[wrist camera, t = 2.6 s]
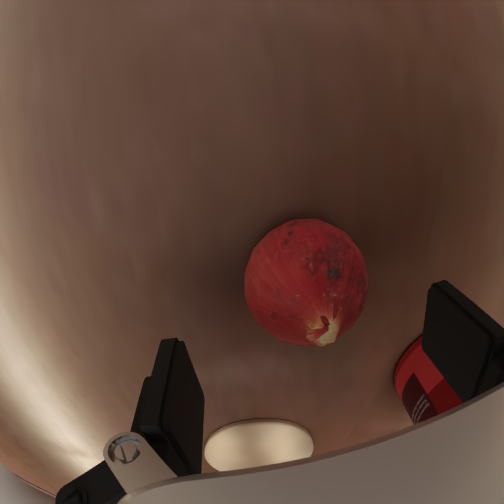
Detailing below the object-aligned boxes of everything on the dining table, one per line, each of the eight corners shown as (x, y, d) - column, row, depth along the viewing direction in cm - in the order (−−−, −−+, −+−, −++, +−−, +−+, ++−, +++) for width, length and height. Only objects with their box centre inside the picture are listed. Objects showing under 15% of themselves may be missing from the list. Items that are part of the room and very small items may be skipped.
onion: (265, 187, 17) (291, 234, 9) (356, 225, 18) (428, 288, 10) (228, 280, 19) (225, 374, 11) (314, 307, 20) (352, 399, 12)
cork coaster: (290, 404, 23) (292, 411, 22) (323, 454, 26) (325, 460, 26) (184, 435, 24) (183, 441, 23) (235, 478, 28) (235, 484, 27)
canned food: (478, 337, 22) (545, 415, 12) (422, 399, 24) (469, 485, 14) (439, 305, 20) (525, 402, 10) (373, 381, 23) (424, 490, 12)
